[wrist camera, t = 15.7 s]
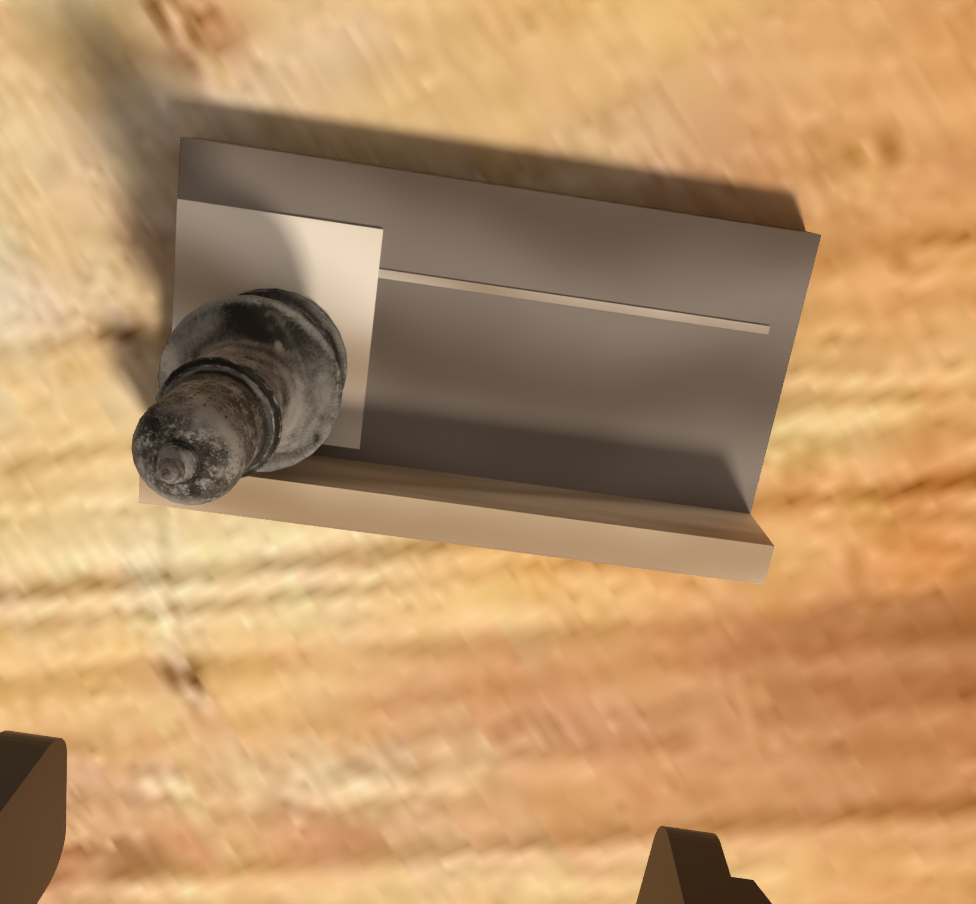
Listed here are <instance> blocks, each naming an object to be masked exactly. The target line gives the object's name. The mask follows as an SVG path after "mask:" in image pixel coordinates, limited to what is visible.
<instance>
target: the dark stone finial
mask: <svg viewBox="0 0 976 904" xmlns="http://www.w3.org/2000/svg"><path fill="white" fill-rule="evenodd" d="M347 370H348V367H347V354H346V348H345V346H344V343H343V340H342V337H341V334H340V332H339V330H338V329H337V327H336V326H335V324H334V323H333V321H332V320H331V318H330V317H329V316H328V315H327V314H326V313H325V312H324V311H323V310H322V309H321V308H319V307H318V306H317V305H316V304H315V303H314V302H312V301H310V300H308V299H306V298H305V297H303V296H301V295H299V294H297V293H294V292H290V291H286V290H281V289H277V288H268V289H254V290H251V291H248V292H244V293H241V294H238V295H230V296H226V297H222V298H219V299H216V300H213V301H209V302H206V303H204V304H203V305H201V306H200V307H198V308H197V309H195V310H194V311H192V312H191V313H189V314H187V315H186V316H185V317H184V318H183V319H182V320H181V322H180V323H179V324H178V325H177V326H176V327H175V329H174V330H173V331H172V332H171V333H170V335H169V338H168V340H167V342H166V344H165V347H164V349H163V351H162V354H161V359H160V367H159V374H158V381H159V388H160V390H159V392H158V394H157V397H156V402H155V404H154V405H152V406H151V407H150V408H149V409H148V410H147V411H146V412H145V413H144V415H143V416H142V417H141V418H140V420H139V422H138V425H137V427H136V429H135V432H134V434H133V440H132V454H133V460H134V464H135V466H136V468H137V471H138V473H139V475H140V476H141V478H142V479H143V480H144V481H145V483H146V484H147V485H148V487H150V488H151V489H152V490H153V491H155V492H156V493H157V494H158V495H160V496H161V497H163V498H166V499H168V500H170V501H172V502H175V503H179V504H184V505H201V504H205V503H208V502H212V501H214V500H217V499H218V498H220V497H222V496H223V495H225V494H226V493H228V492H229V491H230V490H231V489H232V488H233V487H234V486H235V484H236V483H237V482H238V481H239V479H240V478H244V477H247V476H250V475H252V474H253V473H255V472H272V471H276V470H279V469H283V468H286V467H290V466H293V465H295V464H297V463H298V462H300V461H301V460H303V459H305V458H306V457H308V456H310V455H311V454H313V453H314V452H315V451H316V450H317V448H318V447H319V446H320V445H321V444H322V443H323V442H324V441H325V440H326V439H327V438H328V436H329V434H330V432H331V430H332V428H333V426H334V424H335V422H336V420H337V418H338V415H339V410H340V405H341V400H342V395H343V394H342V391H343V389H344V386H345V381H346V375H347Z"/></svg>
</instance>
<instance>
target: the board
mask: <svg viewBox="0 0 976 904" xmlns="http://www.w3.org/2000/svg"><path fill="white" fill-rule="evenodd" d="M820 237H821V235H819V234H815V233H811V232H807V231H801V230H794V229H788V228H781V227H775V226H768V225H761V224H755V223H748V222H742V221H735V220H729V219H722V218H716V217H709V216H703V215H696V214H689V213H683V212H676V211H670V210H663V209H657V208H650V207H644V206H637V205H631V204H624V203H618V202H611V201H604V200H598V199H591V198H585V197H578V196H572V195H565V194H559V193H552V192H546V191H539V190H532V189H526V188H519V187H513V186H506V185H500V184H493V183H487V182H480V181H474V180H467V179H461V178H454V177H447V176H441V175H434V174H428V173H421V172H415V171H408V170H402V169H395V168H389V167H382V166H375V165H369V164H362V163H356V162H349V161H343V160H336V159H330V158H323V157H317V156H310V155H303V154H297V153H290V152H284V151H277V150H271V149H264V148H258V147H251V146H245V145H238V144H232V143H225V142H218V141H212V140H205V139H199V138H188V137H180V161H179V187H178V199H177V214H176V240H175V265H174V290H173V316H172V331H173V330H174V329H175V327H176V326H177V325H178V324H179V323H180V322H181V320H182V319H183V318H184V317H185V316H186V315H187V314H189V313H191V312H192V311H194V310H195V309H197V308H198V307H200V306H201V305H203V304H204V303H206V302H209V301H213V300H216V299H219V298H222V297H226V296H230V295H238V294H241V293H244V292H248V291H251V290H254V289H268V288H277V289H281V290H286V291H290V292H294V293H297V294H299V295H301V296H303V297H305V298H306V299H308V300H310V301H312V302H314V303H315V304H316V305H317V306H318V307H319V308H321V309H322V310H323V311H324V312H325V313H326V314H327V315H328V316H329V317H330V318H331V320H332V321H333V323H334V324H335V326H336V327H337V329H338V330H339V332H340V334H341V337H342V340H343V343H344V346H345V348H346V354H347V367H348V370H347V375H346V381H345V386H344V389H343V391H342V394H343V395H342V400H341V405H340V410H339V415H338V418H337V420H336V422H335V424H334V426H333V428H332V430H331V432H330V434H329V436H328V438H327V439H326V440H325V441H324V442H323V443H322V444H321V445H320V446H319V447H318V448H317V450H316V451H315V452H314V453H313V454H311V455H310V456H308V457H306V458H305V459H303V460H301V461H300V462H298V463H297V464H295V465H293V466H290V467H286V468H283V469H279V470H276V471H272V472H255V473H253V474H252V475H250V476H247V477H244V478H240V479H239V481H238V482H237V483H236V484H235V486H234V487H233V488H232V489H231V490H230V491H229V492H228V493H226V494H225V495H223V496H222V497H220V498H218V499H217V500H214V501H212V502H208V503H205V504H201V505H184V504H179V503H175V502H172V501H170V500H168V499H166V498H163V497H161V496H160V495H158V494H157V493H156V492H155V491H153V490H152V489H151V488H150V487H148V485H147V484H146V483H145V481H144V480H143V479H142V478H141V476H140V483H139V503H143V504H151V505H158V506H166V507H174V508H181V509H189V510H197V511H204V512H212V513H220V514H227V515H235V516H243V517H250V518H258V519H266V520H273V521H281V522H289V523H296V524H304V525H312V526H319V527H327V528H335V529H342V530H350V531H358V532H365V533H373V534H381V535H388V536H396V537H404V538H412V539H419V540H427V541H435V542H442V543H450V544H458V545H465V546H473V547H481V548H488V549H496V550H504V551H511V552H519V553H527V554H534V555H542V556H550V557H557V558H565V559H573V560H580V561H588V562H596V563H603V564H611V565H619V566H626V567H634V568H642V569H649V570H657V571H665V572H672V573H680V574H688V575H695V576H703V577H711V578H718V579H726V580H734V581H742V582H749V583H757V584H764V583H765V579H766V575H767V571H768V568H769V564H770V560H771V556H772V553H773V549H774V545H773V544H772V542H771V541H770V540H769V538H768V537H767V536H766V534H765V533H764V532H763V530H762V529H761V528H760V526H759V525H758V524H757V522H756V521H755V520H754V518H753V517H752V516H751V514H750V512H751V508H752V504H753V500H754V496H755V493H756V489H757V485H758V481H759V477H760V473H761V469H762V465H763V461H764V457H765V453H766V449H767V445H768V442H769V438H770V434H771V430H772V426H773V422H774V418H775V414H776V410H777V406H778V402H779V398H780V394H781V391H782V387H783V383H784V379H785V375H786V371H787V367H788V363H789V359H790V355H791V351H792V347H793V343H794V340H795V336H796V332H797V328H798V324H799V320H800V316H801V312H802V308H803V304H804V300H805V296H806V292H807V288H808V285H809V281H810V277H811V273H812V269H813V265H814V261H815V257H816V253H817V249H818V245H819V241H820Z"/></svg>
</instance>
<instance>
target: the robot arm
mask: <svg viewBox="0 0 976 904" xmlns="http://www.w3.org/2000/svg"><path fill="white" fill-rule="evenodd" d="M66 782H67V748H66V743H65V741H64V740H63V739H61V738H56V737H49V736H42V735H35V734H28V733H21V732H14V731H3V732H1V733H0V904H37V903H38V901H39V899H40V898H41V896H42V894H43V893H44V891H45V890H46V888H47V886H48V885H49V883H50V881H51V879H52V877H53V875H54V873H55V870H56V868H57V865H58V863H59V860H60V857H61V853H62V849H63V845H64V840H65V833H66ZM636 904H772V903H771V902H770V901H769V899H768V898H767V897H766V896H765V894H764V893H763V892H762V891H761V889H760V888H759V887H758V886H757V884H756V883H755V882H754V881H753V880H749V879H742V878H735V877H731V876H730V872H729V869H728V866H727V863H726V859H725V856H724V853H723V850H722V847H721V843H720V841H719V839H718V837H717V836H716V835H715V834H713V833H707V832H700V831H693V830H686V829H679V828H672V827H665V826H660V827H659V828H658V830H657V832H656V834H655V837H654V840H653V844H652V848H651V851H650V855H649V859H648V862H647V866H646V870H645V873H644V877H643V881H642V884H641V888H640V892H639V895H638V899H637V903H636Z"/></svg>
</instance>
